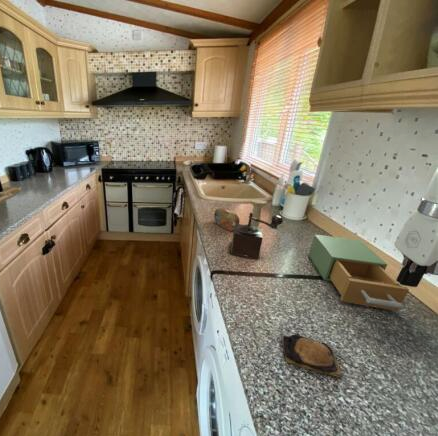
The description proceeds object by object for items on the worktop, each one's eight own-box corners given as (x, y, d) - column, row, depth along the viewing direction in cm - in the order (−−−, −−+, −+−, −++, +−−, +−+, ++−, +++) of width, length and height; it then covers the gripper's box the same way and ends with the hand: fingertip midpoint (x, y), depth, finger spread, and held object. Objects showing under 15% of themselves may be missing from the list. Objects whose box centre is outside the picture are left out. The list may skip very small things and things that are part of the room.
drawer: (409, 323, 63) (422, 301, 60) (349, 313, 66) (358, 291, 63) (368, 277, 81) (376, 259, 78) (322, 271, 84) (328, 252, 81)
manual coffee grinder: (230, 255, 95) (237, 212, 88) (231, 242, 104) (237, 203, 97) (273, 263, 90) (284, 218, 83) (270, 249, 100) (280, 208, 92)
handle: (245, 228, 118) (250, 199, 112) (259, 230, 116) (265, 200, 110) (246, 232, 114) (251, 202, 108) (260, 234, 112) (267, 203, 106)
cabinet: (376, 288, 77) (387, 264, 74) (324, 280, 81) (332, 256, 77) (351, 260, 92) (360, 239, 88) (308, 255, 96) (314, 234, 92)
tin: (213, 221, 125) (214, 206, 122) (217, 220, 126) (219, 205, 123) (233, 233, 113) (236, 216, 109) (239, 232, 114) (241, 215, 111)
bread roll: (330, 347, 57) (335, 336, 56) (342, 381, 50) (348, 369, 48) (280, 334, 61) (283, 323, 59) (285, 363, 53) (289, 351, 52)
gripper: (398, 198, 57) (369, 264, 64) (452, 223, 44) (408, 302, 51) (438, 202, 55) (404, 269, 63) (507, 228, 42) (453, 309, 49)
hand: (406, 283), depth 57 cm, fingers closed
